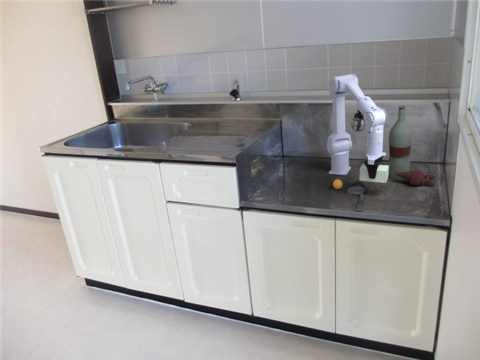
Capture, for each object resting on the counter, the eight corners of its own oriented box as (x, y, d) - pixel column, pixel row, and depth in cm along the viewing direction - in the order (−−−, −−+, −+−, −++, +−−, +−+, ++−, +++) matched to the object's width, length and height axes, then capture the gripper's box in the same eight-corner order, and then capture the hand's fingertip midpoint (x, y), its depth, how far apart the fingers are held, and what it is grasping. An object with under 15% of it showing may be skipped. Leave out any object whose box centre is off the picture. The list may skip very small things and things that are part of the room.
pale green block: (362, 174, 160) (362, 163, 158) (388, 177, 155) (388, 165, 153) (359, 180, 155) (359, 169, 153) (385, 182, 151) (386, 171, 149)
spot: (349, 186, 167) (349, 185, 167) (366, 187, 164) (366, 187, 164) (345, 193, 161) (345, 192, 161) (362, 195, 158) (363, 194, 158)
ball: (334, 186, 169) (334, 177, 167) (343, 187, 167) (343, 178, 165) (331, 190, 165) (331, 181, 164) (341, 191, 163) (341, 182, 162)
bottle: (413, 178, 168) (418, 107, 156) (391, 180, 168) (394, 110, 156) (405, 169, 176) (409, 102, 165) (384, 171, 177) (386, 105, 165)
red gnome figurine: (393, 172, 160) (433, 180, 153) (398, 161, 165) (437, 168, 157) (392, 185, 164) (431, 193, 157) (397, 174, 169) (435, 182, 161)
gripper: (382, 148, 142) (381, 183, 147) (389, 136, 153) (387, 169, 158) (362, 147, 145) (361, 181, 150) (370, 135, 156) (369, 167, 162)
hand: (373, 175), depth 155 cm, fingers closed on pale green block, 6 cm apart
